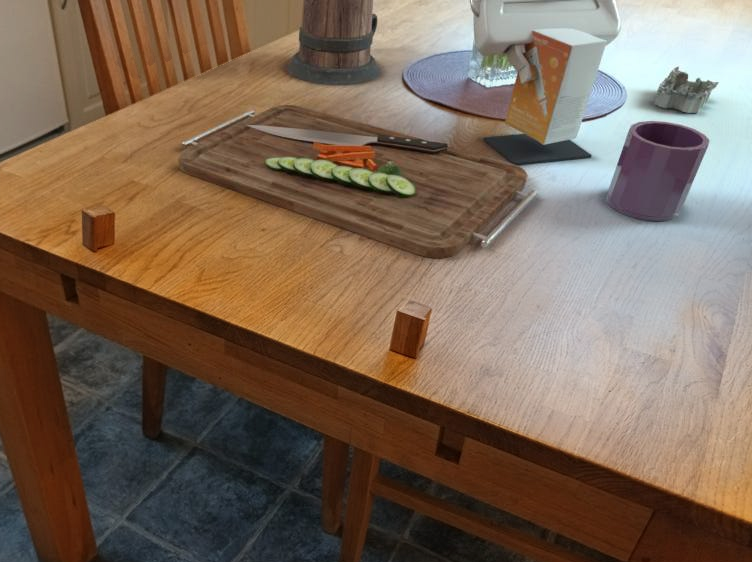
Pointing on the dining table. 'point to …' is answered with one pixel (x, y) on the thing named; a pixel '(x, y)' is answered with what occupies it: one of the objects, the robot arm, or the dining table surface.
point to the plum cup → (656, 170)
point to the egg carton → (683, 92)
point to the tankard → (336, 42)
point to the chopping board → (360, 177)
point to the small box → (556, 84)
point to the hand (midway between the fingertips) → (557, 79)
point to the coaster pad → (534, 149)
